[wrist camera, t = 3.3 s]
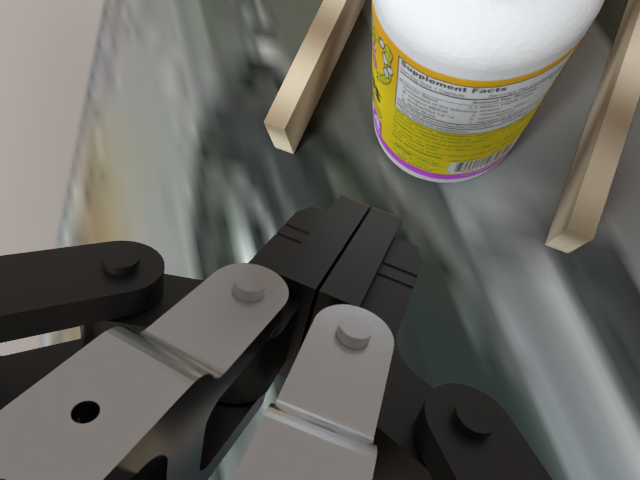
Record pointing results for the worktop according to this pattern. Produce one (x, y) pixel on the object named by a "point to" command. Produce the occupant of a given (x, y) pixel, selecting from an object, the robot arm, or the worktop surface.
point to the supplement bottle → (466, 77)
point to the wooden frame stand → (594, 148)
